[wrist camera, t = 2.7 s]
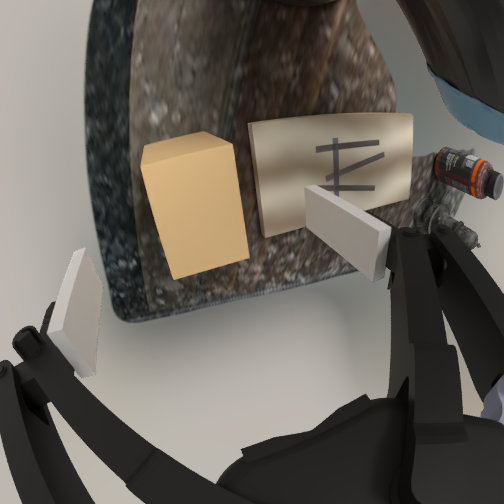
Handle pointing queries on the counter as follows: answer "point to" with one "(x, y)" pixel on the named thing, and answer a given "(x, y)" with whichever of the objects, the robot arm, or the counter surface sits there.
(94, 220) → the counter surface
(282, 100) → the counter surface
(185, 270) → the block
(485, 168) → the supplement bottle
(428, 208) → the grey chess piece
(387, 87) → the counter surface
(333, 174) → the birch board
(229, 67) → the counter surface
